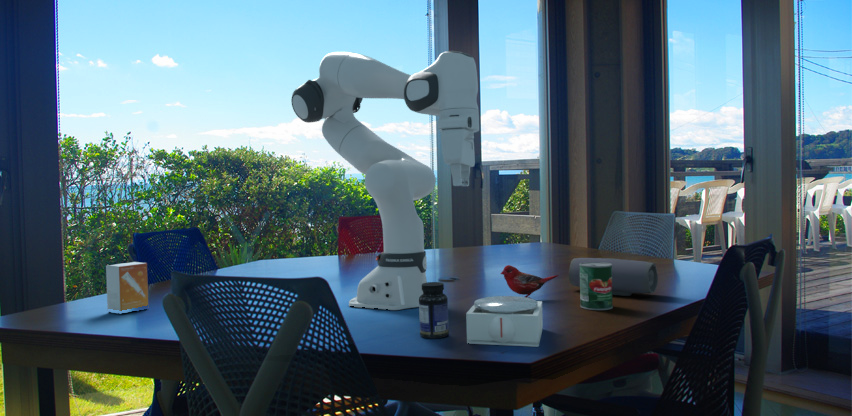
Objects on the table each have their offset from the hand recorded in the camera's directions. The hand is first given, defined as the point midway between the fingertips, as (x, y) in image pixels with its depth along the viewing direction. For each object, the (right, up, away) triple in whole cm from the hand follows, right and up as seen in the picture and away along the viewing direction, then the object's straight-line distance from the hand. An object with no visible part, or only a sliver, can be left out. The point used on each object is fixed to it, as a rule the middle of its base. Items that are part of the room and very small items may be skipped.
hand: (461, 186), depth 124 cm
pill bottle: (-6, -32, -7) cm, 33 cm away
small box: (-89, -33, +27) cm, 99 cm away
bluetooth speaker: (+45, -30, +33) cm, 63 cm away
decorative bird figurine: (+21, -30, +27) cm, 46 cm away
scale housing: (+9, -32, -9) cm, 34 cm away
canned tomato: (+35, -30, +16) cm, 49 cm away
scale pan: (+9, -28, -9) cm, 31 cm away
